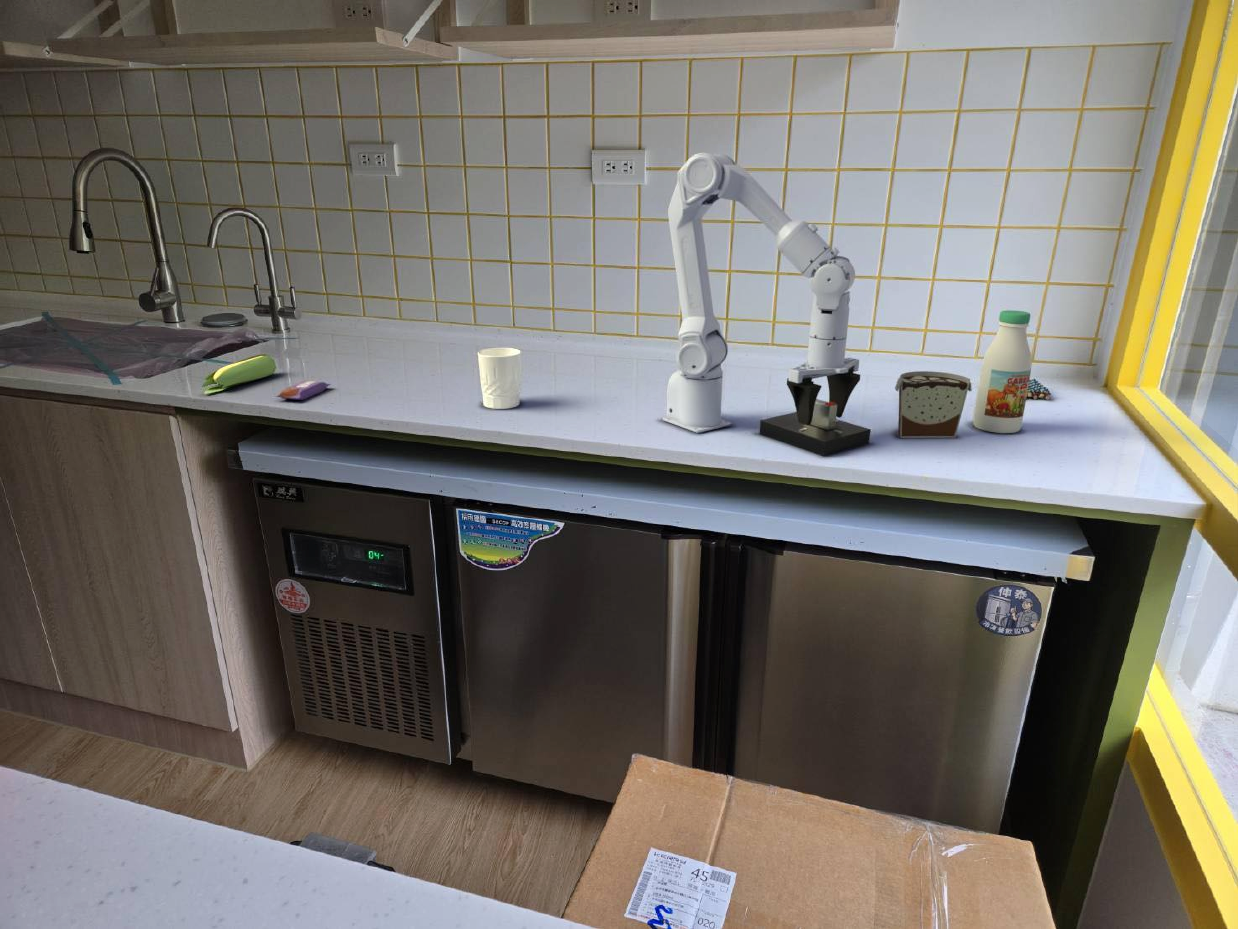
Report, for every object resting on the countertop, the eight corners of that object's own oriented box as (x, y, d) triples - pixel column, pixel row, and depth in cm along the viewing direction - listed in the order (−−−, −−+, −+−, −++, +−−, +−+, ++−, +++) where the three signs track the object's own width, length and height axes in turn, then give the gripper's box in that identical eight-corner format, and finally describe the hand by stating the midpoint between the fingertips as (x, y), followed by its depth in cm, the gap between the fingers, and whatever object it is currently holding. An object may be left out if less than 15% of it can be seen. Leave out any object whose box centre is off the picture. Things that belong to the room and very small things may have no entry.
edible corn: (284, 374, 175) (281, 353, 174) (215, 397, 157) (211, 373, 156) (264, 372, 177) (261, 351, 175) (193, 394, 159) (189, 371, 157)
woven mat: (1052, 400, 159) (1054, 390, 158) (994, 397, 161) (996, 387, 160) (1035, 387, 169) (1037, 377, 168) (981, 385, 170) (982, 375, 170)
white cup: (531, 402, 155) (529, 350, 152) (505, 412, 149) (503, 358, 145) (498, 397, 159) (495, 346, 155) (471, 406, 152) (468, 353, 149)
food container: (949, 426, 142) (957, 370, 139) (964, 437, 136) (973, 378, 133) (879, 427, 142) (885, 370, 139) (891, 437, 136) (898, 379, 133)
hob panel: (759, 434, 137) (760, 419, 137) (803, 423, 144) (805, 408, 143) (824, 456, 127) (825, 440, 126) (869, 443, 133) (871, 428, 132)
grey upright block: (804, 422, 135) (806, 398, 134) (811, 421, 136) (813, 396, 135) (827, 430, 131) (830, 404, 130) (835, 428, 132) (837, 403, 131)
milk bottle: (964, 427, 142) (982, 311, 135) (983, 418, 147) (1001, 306, 140) (1009, 437, 137) (1030, 317, 130) (1027, 427, 142) (1048, 312, 135)
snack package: (308, 377, 164) (331, 379, 163) (309, 387, 165) (332, 388, 164) (273, 391, 154) (297, 393, 153) (275, 401, 154) (299, 403, 153)
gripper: (816, 346, 122) (808, 433, 126) (878, 335, 130) (868, 417, 134) (781, 338, 127) (775, 422, 131) (842, 328, 135) (834, 408, 140)
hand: (820, 419), depth 133 cm, fingers open, 7 cm apart
